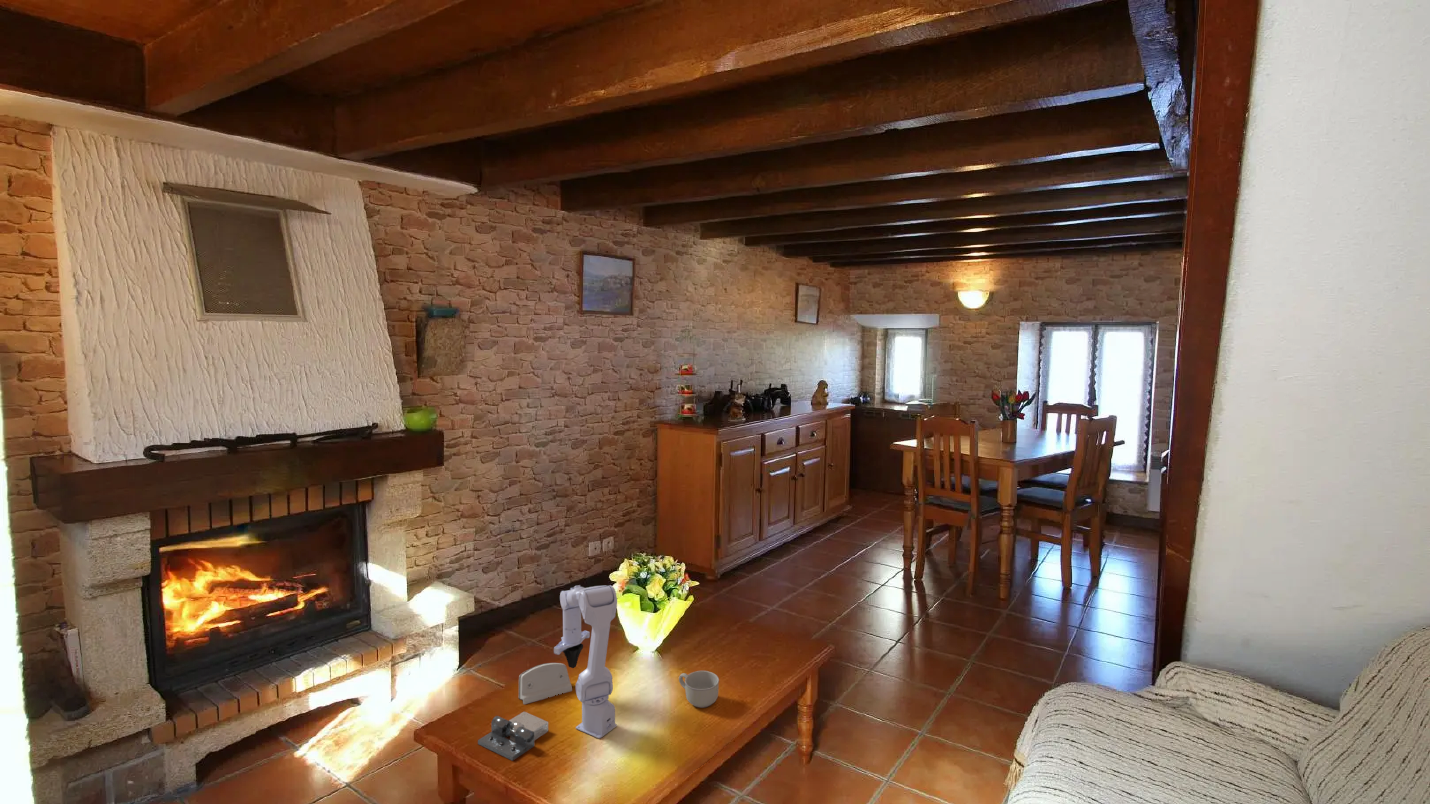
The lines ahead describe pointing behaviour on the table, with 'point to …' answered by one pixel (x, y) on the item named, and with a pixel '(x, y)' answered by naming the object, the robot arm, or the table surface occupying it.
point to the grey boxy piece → (528, 725)
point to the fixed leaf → (504, 746)
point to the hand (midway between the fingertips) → (572, 666)
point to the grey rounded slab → (543, 682)
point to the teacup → (700, 687)
